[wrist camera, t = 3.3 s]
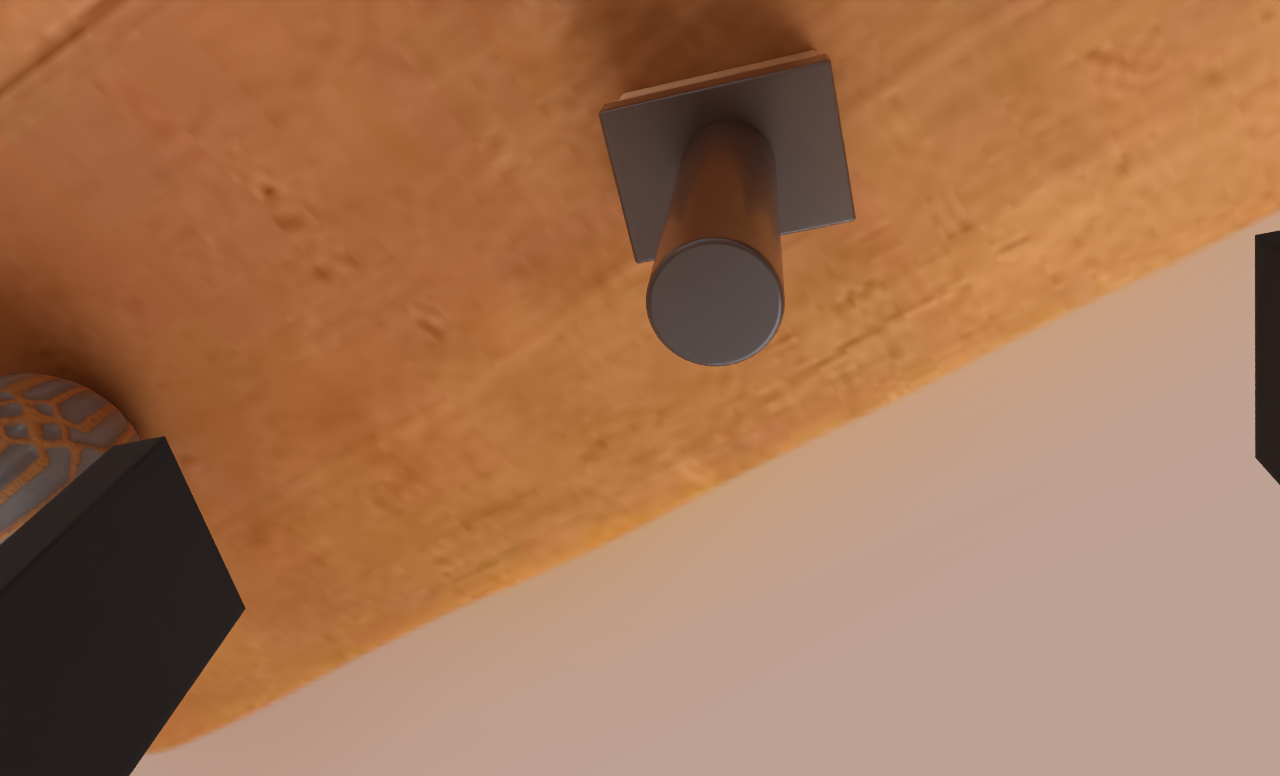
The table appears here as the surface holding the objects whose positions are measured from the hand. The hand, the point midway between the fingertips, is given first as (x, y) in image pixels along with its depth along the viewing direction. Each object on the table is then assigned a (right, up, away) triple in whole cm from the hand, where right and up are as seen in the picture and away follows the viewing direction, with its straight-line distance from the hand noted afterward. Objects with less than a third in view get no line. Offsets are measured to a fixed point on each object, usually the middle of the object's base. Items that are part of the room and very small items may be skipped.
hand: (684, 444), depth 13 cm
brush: (+2, +7, +15) cm, 16 cm away
